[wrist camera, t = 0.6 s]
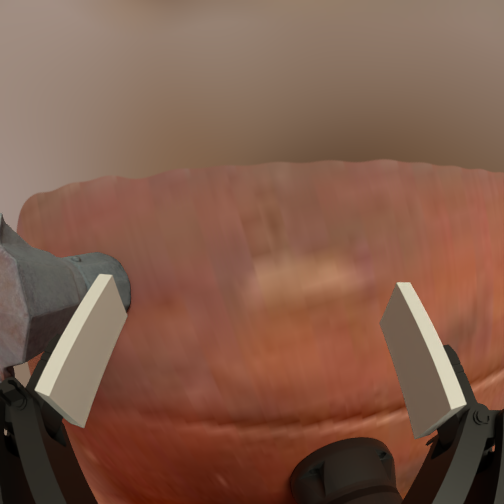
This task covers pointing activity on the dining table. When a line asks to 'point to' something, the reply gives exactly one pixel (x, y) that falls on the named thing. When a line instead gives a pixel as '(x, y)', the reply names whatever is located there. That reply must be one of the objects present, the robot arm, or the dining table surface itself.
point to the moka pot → (43, 295)
